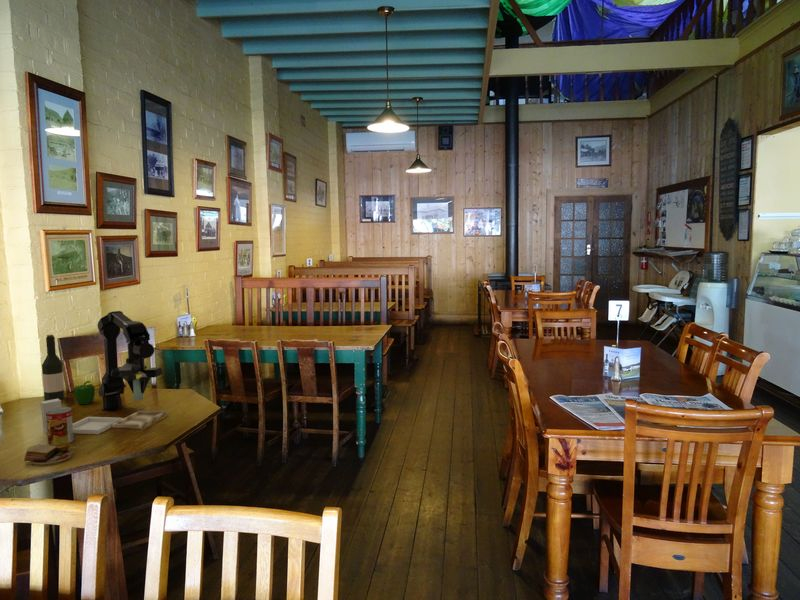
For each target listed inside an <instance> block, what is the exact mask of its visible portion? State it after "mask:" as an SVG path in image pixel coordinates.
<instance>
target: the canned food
mask: <svg viewBox="0 0 800 600" xmlns="http://www.w3.org/2000/svg"><path fill="white" fill-rule="evenodd" d="M72 410H73V409H72V408H71V407H69V406H63V407H62V406H61V407H60V408H54V409H50V410H48V411H46V420H47V433H46V434H47V443H48V444H47V445H52V446H63V445H67V444H69V443H71V442H74V433H73V411H72Z"/></svg>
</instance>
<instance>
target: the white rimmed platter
mask: <svg viewBox="0 0 800 600" xmlns="http://www.w3.org/2000/svg"><path fill="white" fill-rule="evenodd" d="M121 419H123V417H113V416H112V417H108V416H107V417H106V416H104V417H103V416H86V417H85V418H82V419H80V420H78V421H76V422H72V424H73V434H80V435H81V434H83V435H85V434H87V435H99V434H101V433H103V432H105V431H108V430H110V429H111V428H112V424H114V423H116V422H118V421H120V420H121Z"/></svg>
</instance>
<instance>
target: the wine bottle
mask: <svg viewBox="0 0 800 600" xmlns="http://www.w3.org/2000/svg"><path fill="white" fill-rule="evenodd" d="M45 342H46V343H45V344H46V354H47V355H46V356H45V359H44V360H43V363H42V364H41V370H42V383H43V384H42V385H43V397H44V401H48V400H53V399H59V400H61V401H62V400H65V398H66V392H65V379H64V365H63V364H64V363H63V361H62V360H61V359H60V357H59V356H58V355H57V350H56V339H55V336H54V334H47V335H46V337H45Z"/></svg>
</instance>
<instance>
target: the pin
mask: <svg viewBox="0 0 800 600" xmlns="http://www.w3.org/2000/svg"><path fill="white" fill-rule="evenodd" d="M133 391H134V393H133V401H136V402H138V401H143V400H144V393H143V394H142V393H141V381H140V379H139V378H136V379H134V380H133Z"/></svg>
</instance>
